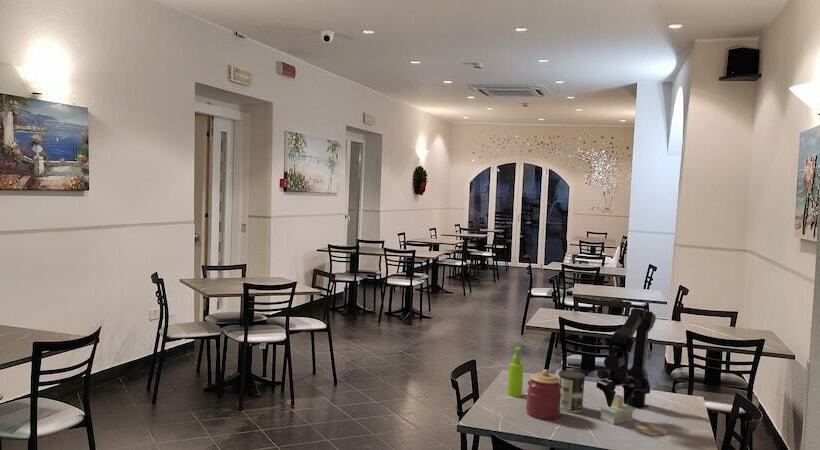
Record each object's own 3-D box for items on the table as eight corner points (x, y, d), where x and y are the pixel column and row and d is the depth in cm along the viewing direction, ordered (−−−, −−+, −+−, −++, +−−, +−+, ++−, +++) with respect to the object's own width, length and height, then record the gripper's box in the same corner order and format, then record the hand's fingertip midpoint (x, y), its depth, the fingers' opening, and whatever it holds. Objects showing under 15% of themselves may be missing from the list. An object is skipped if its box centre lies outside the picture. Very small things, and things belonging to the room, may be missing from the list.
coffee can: (581, 405, 260) (584, 371, 259) (583, 414, 250) (585, 379, 249) (555, 402, 262) (558, 368, 261) (556, 411, 252) (558, 376, 251)
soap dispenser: (522, 392, 273) (526, 346, 271) (520, 397, 266) (523, 350, 265) (509, 390, 274) (512, 345, 273) (506, 395, 268) (509, 348, 267)
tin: (618, 415, 251) (619, 404, 251) (631, 421, 245) (632, 409, 245) (600, 418, 246) (601, 407, 246) (613, 424, 240) (614, 413, 240)
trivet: (648, 421, 246) (648, 420, 246) (675, 432, 236) (675, 431, 236) (626, 425, 240) (626, 424, 240) (653, 437, 230) (653, 436, 230)
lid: (619, 405, 251) (620, 391, 251) (634, 412, 245) (635, 397, 245) (599, 409, 246) (600, 395, 246) (614, 415, 239) (615, 401, 239)
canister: (562, 412, 251) (566, 368, 250) (555, 422, 239) (559, 376, 238) (530, 406, 256) (533, 362, 255) (521, 415, 245) (524, 370, 244)
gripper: (620, 357, 256) (617, 396, 257) (587, 362, 247) (584, 401, 248) (643, 365, 246) (640, 405, 247) (609, 370, 237) (606, 411, 238)
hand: (617, 405), depth 245 cm, fingers open, 8 cm apart
